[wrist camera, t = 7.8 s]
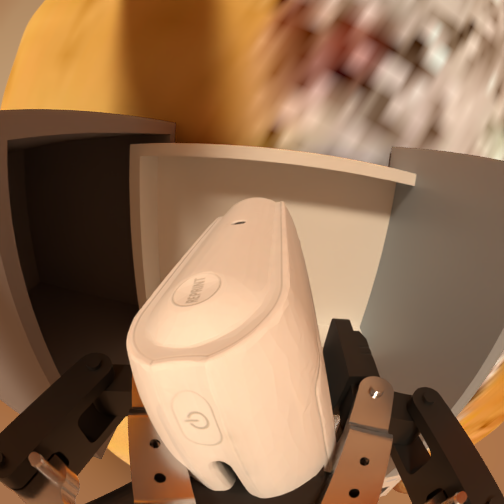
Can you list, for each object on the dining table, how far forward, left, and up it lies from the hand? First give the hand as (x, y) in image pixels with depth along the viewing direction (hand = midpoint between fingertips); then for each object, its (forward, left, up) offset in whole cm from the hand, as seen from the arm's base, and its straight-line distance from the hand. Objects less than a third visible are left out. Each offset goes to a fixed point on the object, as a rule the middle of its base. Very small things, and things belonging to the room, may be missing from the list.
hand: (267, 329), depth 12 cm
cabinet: (0, -18, -12) cm, 22 cm away
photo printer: (0, 0, -5) cm, 5 cm away
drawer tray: (0, 0, -12) cm, 12 cm away
